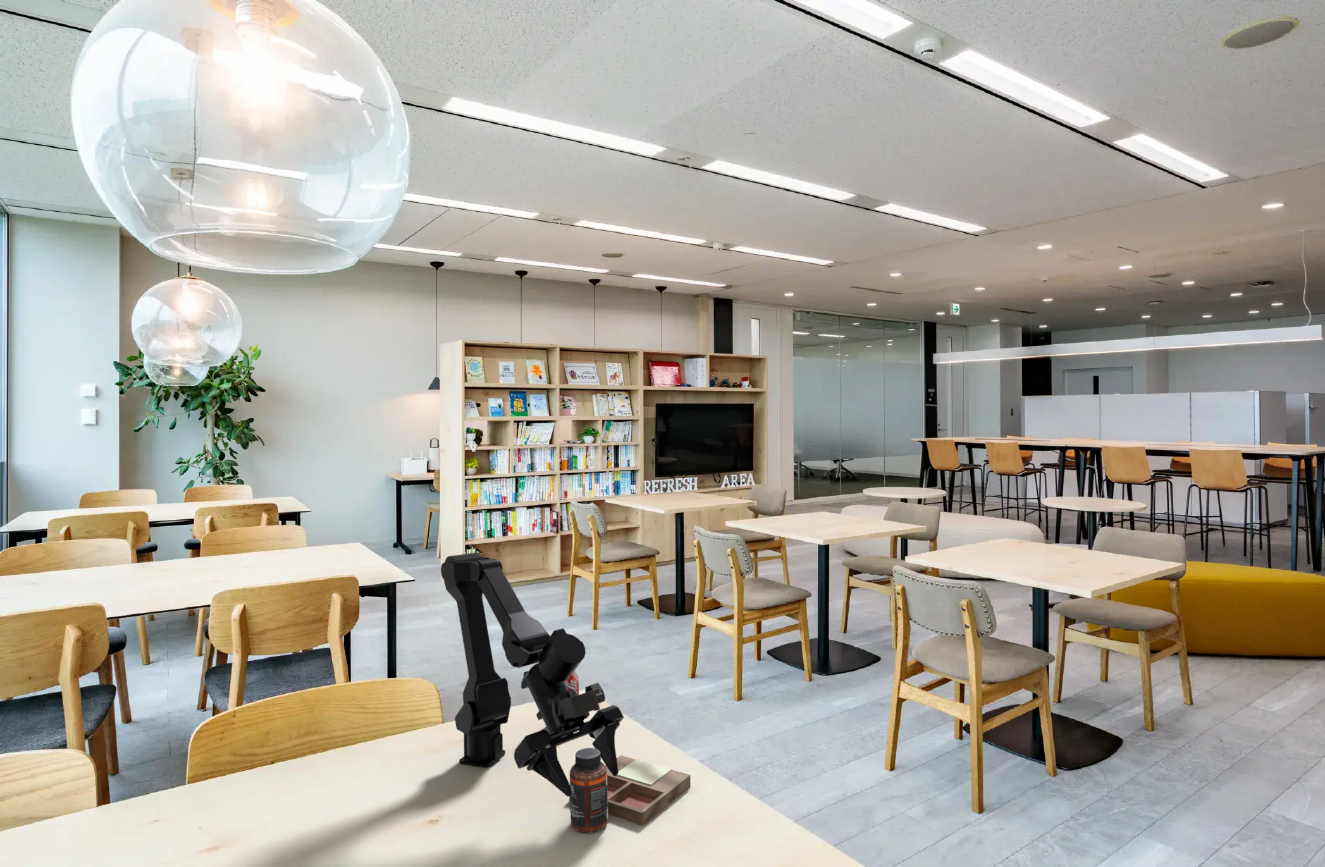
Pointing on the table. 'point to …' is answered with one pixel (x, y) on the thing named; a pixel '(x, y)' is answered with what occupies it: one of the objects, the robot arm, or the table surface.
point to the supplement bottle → (588, 791)
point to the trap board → (642, 789)
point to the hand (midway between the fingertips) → (594, 784)
